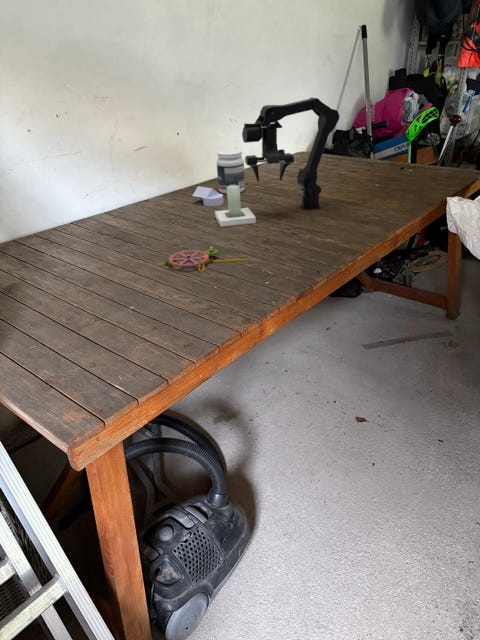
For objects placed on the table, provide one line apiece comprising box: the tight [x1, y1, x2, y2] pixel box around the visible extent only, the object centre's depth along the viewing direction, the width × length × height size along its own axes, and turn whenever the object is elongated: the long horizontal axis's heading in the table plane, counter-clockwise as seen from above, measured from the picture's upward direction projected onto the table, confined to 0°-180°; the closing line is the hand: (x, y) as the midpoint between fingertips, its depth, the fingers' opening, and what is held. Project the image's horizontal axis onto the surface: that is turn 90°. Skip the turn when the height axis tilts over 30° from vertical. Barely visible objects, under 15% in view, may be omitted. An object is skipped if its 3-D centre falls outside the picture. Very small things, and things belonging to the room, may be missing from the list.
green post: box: [226, 185, 242, 218], centre depth 199 cm, size 5×5×13 cm
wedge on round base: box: [192, 185, 225, 207], centre depth 225 cm, size 9×7×13 cm
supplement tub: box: [216, 149, 246, 195], centre depth 238 cm, size 13×13×18 cm
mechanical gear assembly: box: [156, 246, 249, 273], centre depth 164 cm, size 30×4×15 cm
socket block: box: [214, 207, 257, 228], centre depth 202 cm, size 14×14×2 cm
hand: (269, 181), depth 203 cm, fingers open, 9 cm apart
